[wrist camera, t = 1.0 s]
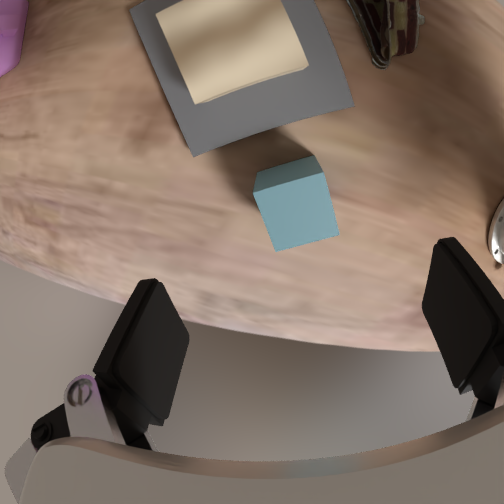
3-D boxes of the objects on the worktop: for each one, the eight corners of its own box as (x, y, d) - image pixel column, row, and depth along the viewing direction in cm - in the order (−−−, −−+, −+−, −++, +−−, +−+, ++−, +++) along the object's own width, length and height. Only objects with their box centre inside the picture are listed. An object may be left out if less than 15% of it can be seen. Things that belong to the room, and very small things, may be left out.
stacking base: (350, 105, 23) (370, 110, 18) (197, 153, 27) (178, 170, 22) (284, -45, 14) (286, -72, 9) (135, 12, 18) (105, 1, 13)
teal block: (329, 207, 29) (339, 234, 24) (276, 221, 30) (275, 251, 25) (314, 154, 26) (323, 172, 21) (257, 172, 28) (252, 193, 22)
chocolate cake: (430, 70, 19) (463, -14, 8) (384, 77, 19) (413, -28, 8) (375, 24, 22) (387, -53, 10) (328, 28, 22) (332, -60, 10)
